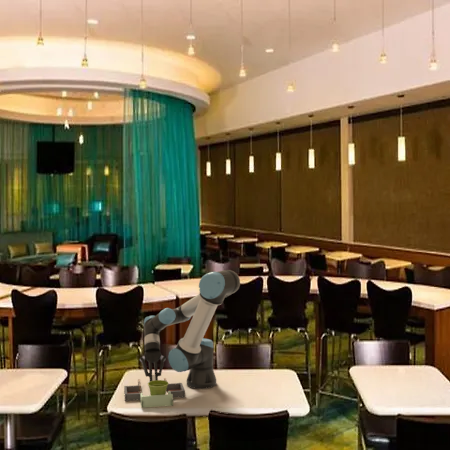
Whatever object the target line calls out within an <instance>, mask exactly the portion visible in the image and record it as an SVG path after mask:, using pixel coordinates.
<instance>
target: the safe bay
mask: <svg viewBox="0 0 450 450" xmlns="http://www.w3.org/2000/svg"><path fill="white" fill-rule="evenodd" d="M140 393H141V394H140V400H139V401H140V402H139V403H140V407H141V409H143V408H144V409H145V408H160V407H173V406H174V404H173V403H174V402H173V401H174V398H173V394H171V392H170V391H168V390H167V393H166V395H143V392H140Z"/></svg>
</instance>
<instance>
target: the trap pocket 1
mask: <svg viewBox="0 0 450 450" xmlns="http://www.w3.org/2000/svg"><path fill="white" fill-rule="evenodd" d="M139 386H140V385H138V384H136V385H123V388H124V389H123V390H124V391H123V392H124V393H123V394H125V395H124V401H125V402H128V401H130V400H131V401H140V394H141V393H142V392H139Z"/></svg>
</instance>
